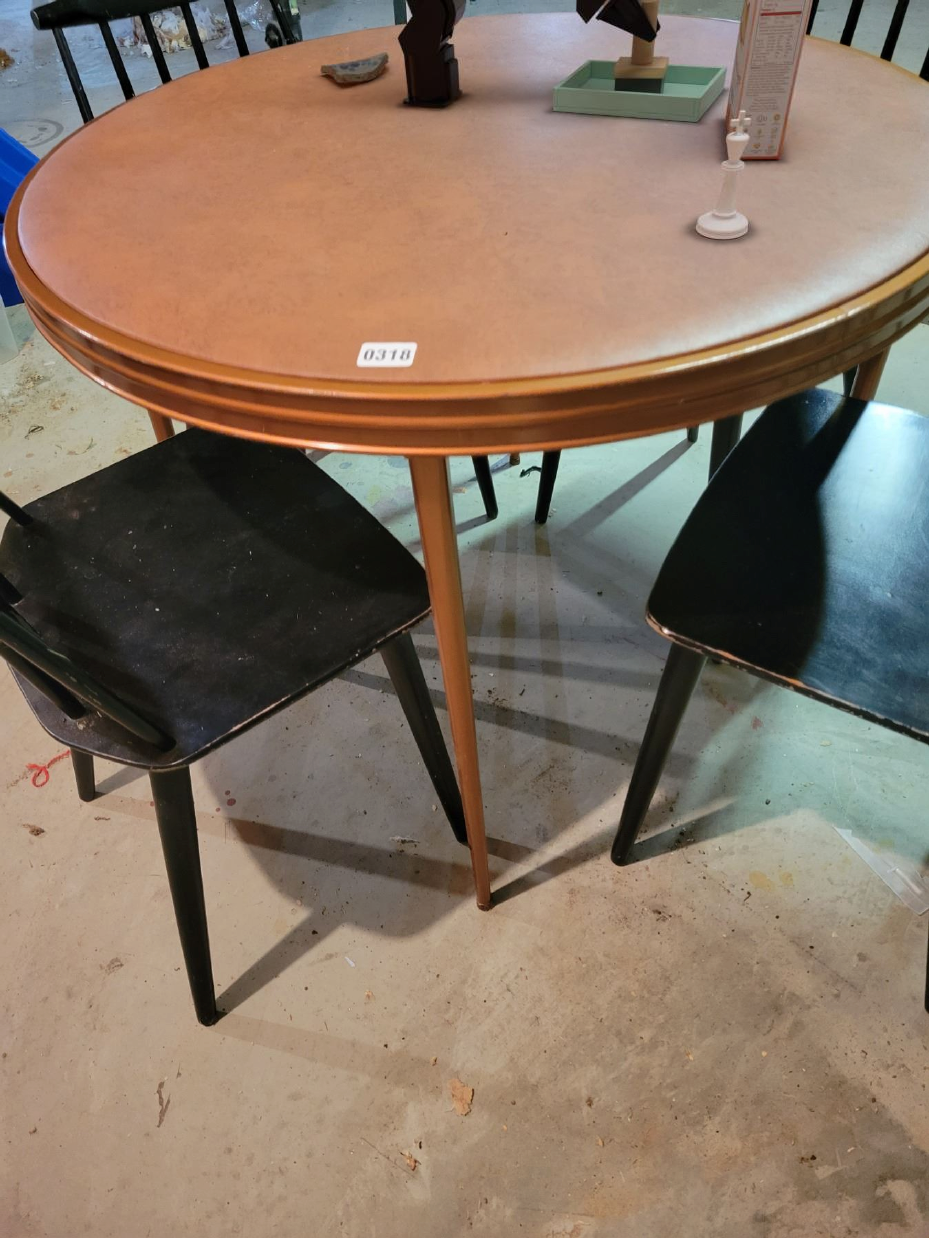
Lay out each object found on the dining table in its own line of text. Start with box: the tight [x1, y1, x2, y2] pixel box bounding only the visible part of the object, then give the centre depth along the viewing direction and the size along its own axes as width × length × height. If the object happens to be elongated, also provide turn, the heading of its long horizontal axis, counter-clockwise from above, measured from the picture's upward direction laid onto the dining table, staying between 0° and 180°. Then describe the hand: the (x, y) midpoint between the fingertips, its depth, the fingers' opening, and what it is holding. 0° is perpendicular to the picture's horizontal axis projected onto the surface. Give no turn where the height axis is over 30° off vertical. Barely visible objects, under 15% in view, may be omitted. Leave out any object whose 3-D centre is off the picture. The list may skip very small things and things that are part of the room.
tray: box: [552, 59, 728, 123], centre depth 102 cm, size 19×13×3 cm
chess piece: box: [695, 110, 751, 240], centre depth 72 cm, size 5×5×10 cm
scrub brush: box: [614, 0, 670, 94], centre depth 98 cm, size 6×5×10 cm
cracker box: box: [725, 0, 813, 161], centre depth 83 cm, size 14×6×21 cm, turn 169°
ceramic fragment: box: [320, 52, 390, 84], centre depth 118 cm, size 11×3×10 cm
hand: (656, 35), depth 97 cm, fingers open, 3 cm apart
